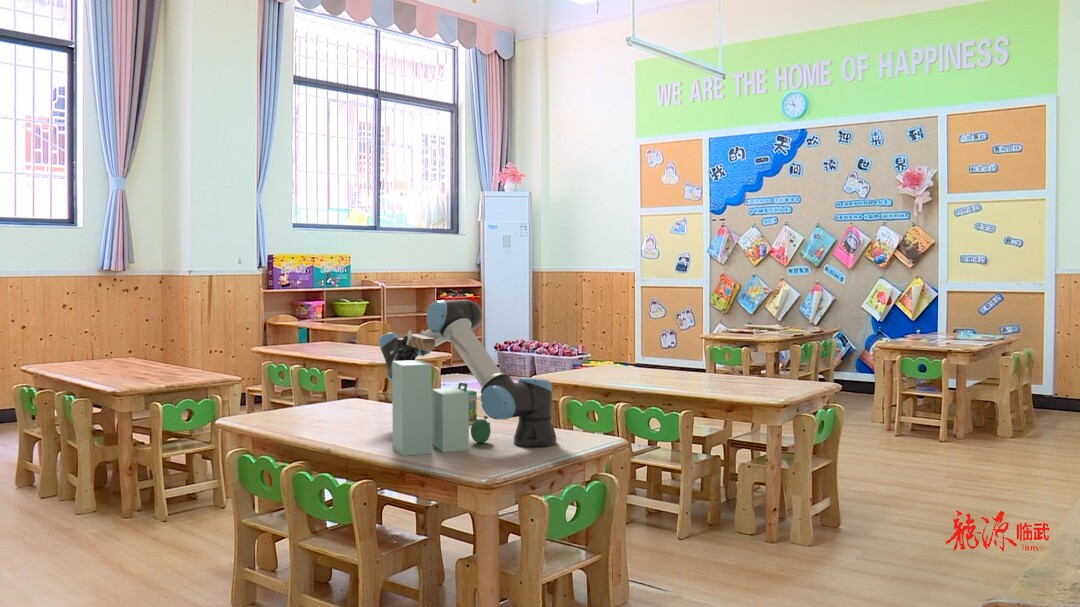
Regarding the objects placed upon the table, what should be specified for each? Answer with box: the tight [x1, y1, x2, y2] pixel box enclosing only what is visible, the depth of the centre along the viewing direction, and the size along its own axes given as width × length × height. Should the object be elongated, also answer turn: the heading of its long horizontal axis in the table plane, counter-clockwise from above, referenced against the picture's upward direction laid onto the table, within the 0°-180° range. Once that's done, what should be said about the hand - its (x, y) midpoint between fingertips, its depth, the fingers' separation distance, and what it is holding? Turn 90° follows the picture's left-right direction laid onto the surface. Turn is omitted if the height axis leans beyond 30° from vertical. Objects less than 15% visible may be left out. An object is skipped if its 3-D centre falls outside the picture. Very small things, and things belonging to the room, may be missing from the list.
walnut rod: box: [408, 333, 436, 351], centre depth 317 cm, size 24×4×4 cm, turn 22°
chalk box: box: [457, 382, 478, 421], centre depth 364 cm, size 9×9×15 cm
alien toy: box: [470, 414, 491, 444], centre depth 315 cm, size 7×8×10 cm
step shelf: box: [391, 359, 470, 457], centre depth 304 cm, size 16×23×30 cm
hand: (417, 333), depth 322 cm, fingers closed on walnut rod, 4 cm apart
